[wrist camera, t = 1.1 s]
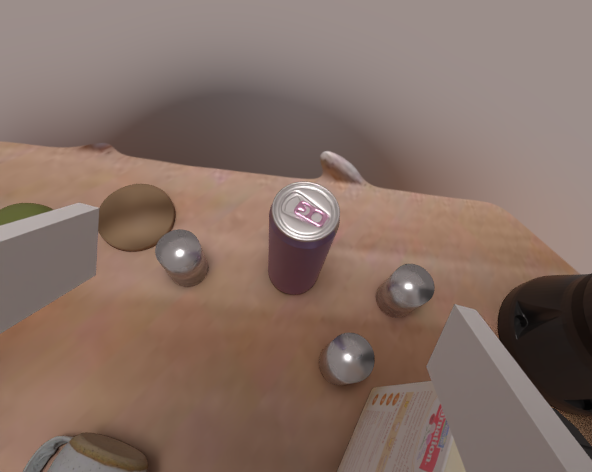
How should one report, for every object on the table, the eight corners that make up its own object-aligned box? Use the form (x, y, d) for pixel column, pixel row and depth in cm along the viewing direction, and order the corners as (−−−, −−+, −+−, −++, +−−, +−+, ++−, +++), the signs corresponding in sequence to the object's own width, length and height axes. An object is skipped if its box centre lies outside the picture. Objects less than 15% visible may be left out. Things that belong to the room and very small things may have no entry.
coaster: (185, 233, 42) (184, 229, 41) (111, 263, 40) (108, 260, 39) (161, 178, 45) (159, 174, 44) (91, 204, 43) (87, 199, 42)
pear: (30, 239, 34) (-60, 244, 35) (67, 258, 39) (-13, 262, 40) (47, 193, 37) (-38, 198, 38) (79, 216, 42) (4, 220, 42)
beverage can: (301, 305, 39) (319, 256, 26) (258, 278, 40) (254, 218, 27) (326, 265, 42) (354, 201, 28) (285, 240, 43) (294, 167, 29)
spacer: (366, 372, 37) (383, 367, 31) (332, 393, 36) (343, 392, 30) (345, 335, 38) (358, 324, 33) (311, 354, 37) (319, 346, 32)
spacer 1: (214, 276, 40) (206, 257, 35) (178, 293, 39) (163, 276, 33) (200, 246, 42) (190, 223, 36) (164, 261, 40) (149, 239, 35)
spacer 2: (419, 306, 40) (443, 292, 35) (389, 324, 39) (409, 312, 34) (398, 275, 42) (417, 257, 37) (368, 291, 41) (384, 274, 35)
